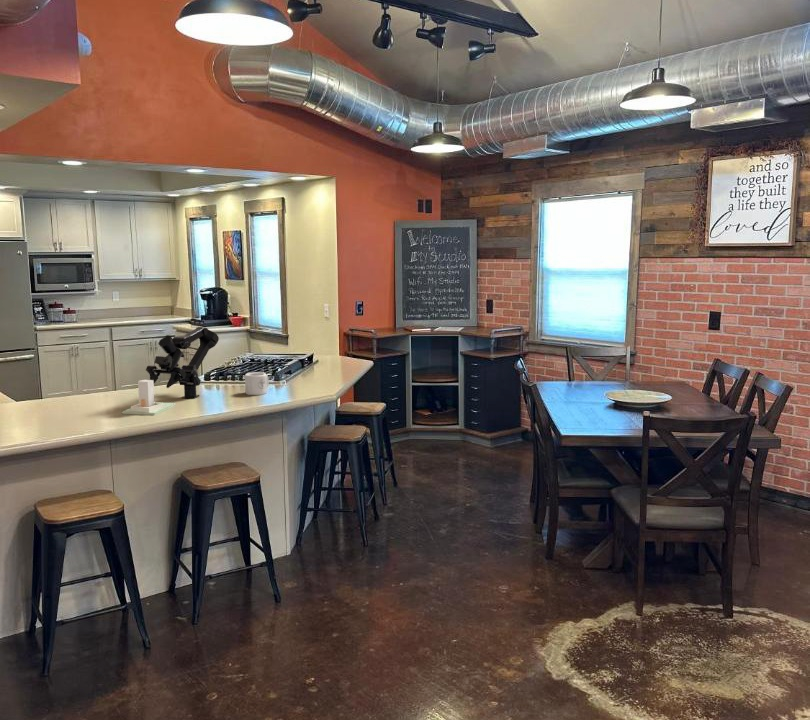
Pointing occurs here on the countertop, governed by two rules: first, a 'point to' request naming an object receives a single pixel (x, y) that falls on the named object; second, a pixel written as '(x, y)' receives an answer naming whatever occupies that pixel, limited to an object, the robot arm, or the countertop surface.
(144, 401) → the plug
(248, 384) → the mug
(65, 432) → the countertop surface
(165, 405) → the board
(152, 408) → the white square frame
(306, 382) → the countertop surface
